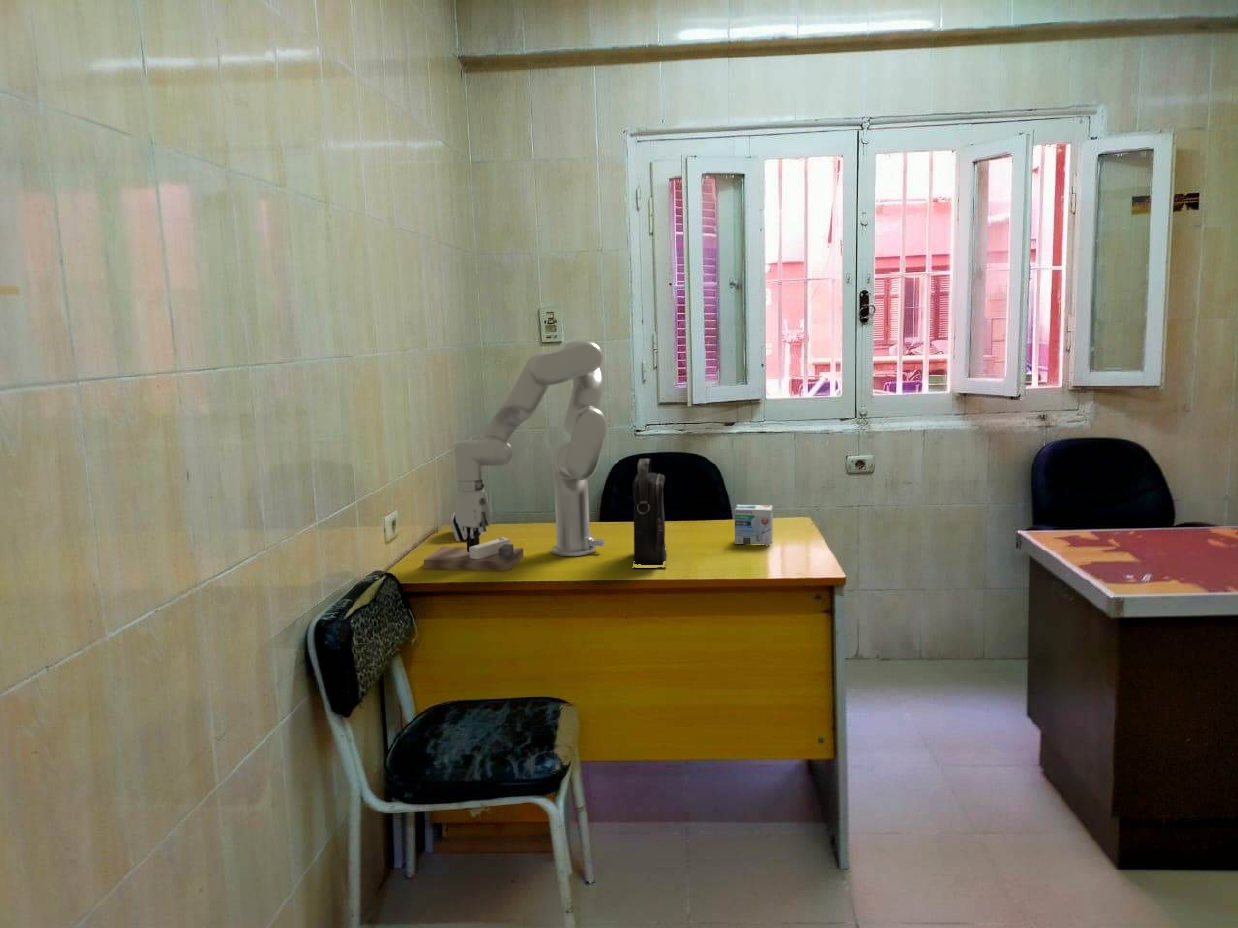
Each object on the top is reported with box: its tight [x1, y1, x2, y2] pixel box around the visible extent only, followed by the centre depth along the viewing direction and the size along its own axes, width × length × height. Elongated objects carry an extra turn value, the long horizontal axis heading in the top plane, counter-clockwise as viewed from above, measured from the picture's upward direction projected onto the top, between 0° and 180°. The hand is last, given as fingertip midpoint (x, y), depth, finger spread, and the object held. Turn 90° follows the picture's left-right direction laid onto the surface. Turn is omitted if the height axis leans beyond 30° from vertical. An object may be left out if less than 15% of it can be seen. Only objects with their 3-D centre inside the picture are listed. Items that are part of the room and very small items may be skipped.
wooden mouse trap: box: [423, 543, 524, 571], centre depth 242 cm, size 24×14×6 cm, turn 80°
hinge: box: [449, 511, 488, 542], centre depth 275 cm, size 17×5×10 cm, turn 172°
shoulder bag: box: [632, 457, 668, 565], centre depth 240 cm, size 23×9×28 cm, turn 176°
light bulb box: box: [734, 504, 774, 545], centre depth 255 cm, size 11×7×11 cm, turn 76°
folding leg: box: [469, 536, 511, 559], centre depth 241 cm, size 12×3×3 cm, turn 142°
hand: (473, 551), depth 241 cm, fingers closed
